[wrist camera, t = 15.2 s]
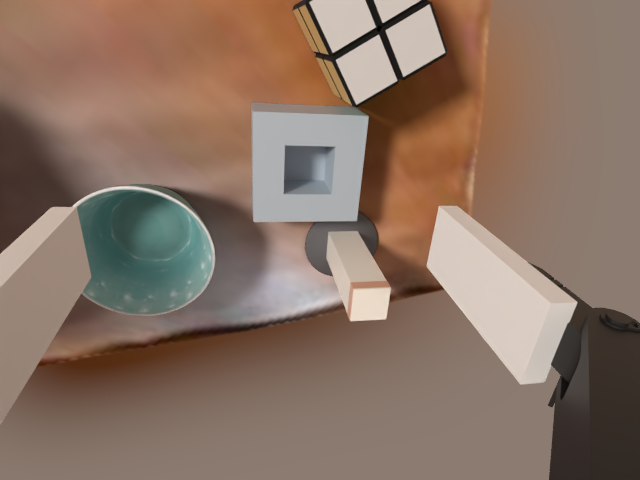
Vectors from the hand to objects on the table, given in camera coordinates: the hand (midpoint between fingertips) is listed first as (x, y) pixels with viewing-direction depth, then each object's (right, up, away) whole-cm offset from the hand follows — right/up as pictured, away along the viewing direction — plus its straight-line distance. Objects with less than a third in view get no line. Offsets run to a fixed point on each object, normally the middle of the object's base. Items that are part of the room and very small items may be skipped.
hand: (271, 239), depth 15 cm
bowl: (-19, +2, +35) cm, 40 cm away
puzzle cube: (+5, +23, +29) cm, 38 cm away
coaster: (+5, 0, +41) cm, 41 cm away
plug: (+5, -1, +40) cm, 41 cm away
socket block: (0, +10, +34) cm, 36 cm away
